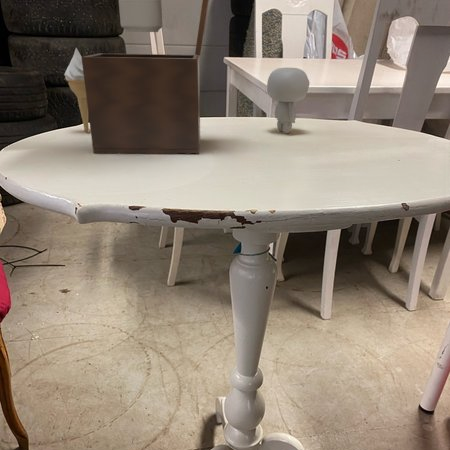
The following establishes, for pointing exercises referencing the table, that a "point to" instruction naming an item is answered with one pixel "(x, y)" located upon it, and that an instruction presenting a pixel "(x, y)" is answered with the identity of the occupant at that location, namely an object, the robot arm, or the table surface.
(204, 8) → the bin lid
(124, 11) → the beverage can
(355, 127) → the table surface
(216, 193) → the table surface
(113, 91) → the bin
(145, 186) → the table surface
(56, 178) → the table surface
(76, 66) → the ice cream cone
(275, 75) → the figurine
